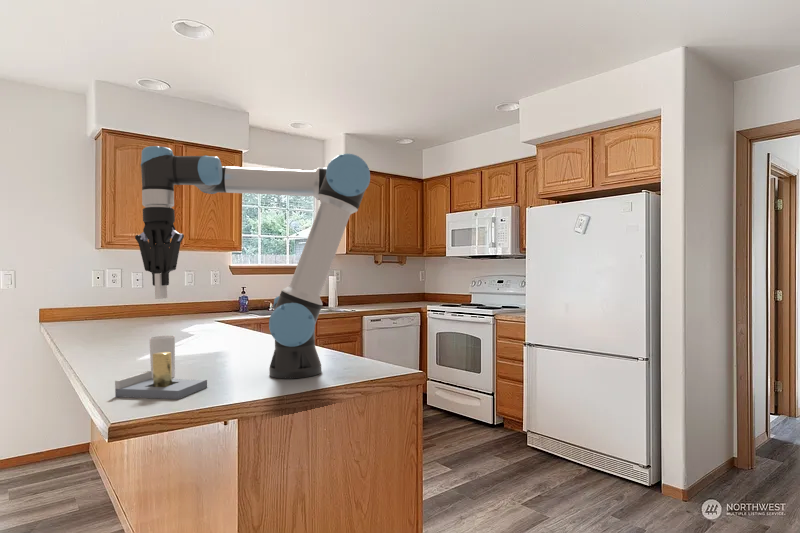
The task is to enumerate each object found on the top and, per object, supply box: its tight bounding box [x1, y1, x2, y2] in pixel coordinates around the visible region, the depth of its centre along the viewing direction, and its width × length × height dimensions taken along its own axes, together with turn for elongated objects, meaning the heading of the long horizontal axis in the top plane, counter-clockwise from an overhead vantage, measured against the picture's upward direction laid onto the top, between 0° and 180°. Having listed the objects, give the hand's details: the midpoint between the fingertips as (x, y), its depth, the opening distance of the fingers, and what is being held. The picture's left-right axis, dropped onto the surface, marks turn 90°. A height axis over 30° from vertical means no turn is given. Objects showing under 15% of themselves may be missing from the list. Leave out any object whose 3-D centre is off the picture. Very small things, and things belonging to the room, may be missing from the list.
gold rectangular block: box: [153, 352, 173, 387], centre depth 132 cm, size 4×4×10 cm
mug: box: [149, 335, 176, 379], centre depth 152 cm, size 10×7×12 cm, turn 5°
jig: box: [114, 370, 208, 400], centre depth 132 cm, size 18×12×4 cm, turn 78°
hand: (161, 298), depth 133 cm, fingers closed
